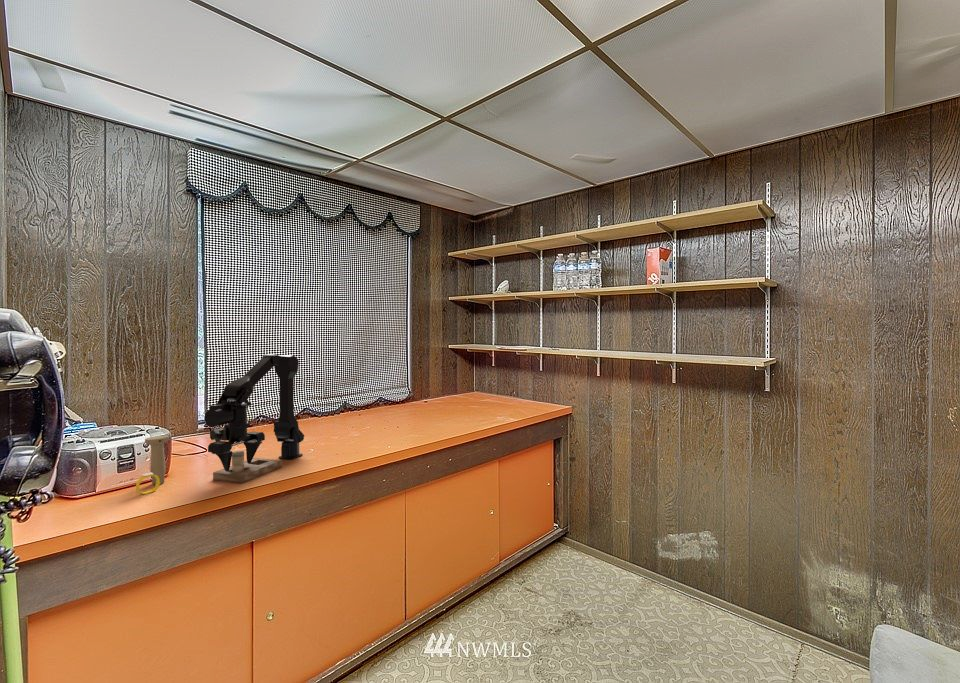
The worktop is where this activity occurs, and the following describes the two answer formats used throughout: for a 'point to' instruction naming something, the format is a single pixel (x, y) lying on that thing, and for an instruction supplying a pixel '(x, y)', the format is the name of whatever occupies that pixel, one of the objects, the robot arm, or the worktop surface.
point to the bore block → (248, 470)
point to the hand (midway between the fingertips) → (238, 467)
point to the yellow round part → (146, 477)
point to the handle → (157, 457)
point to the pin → (237, 461)
